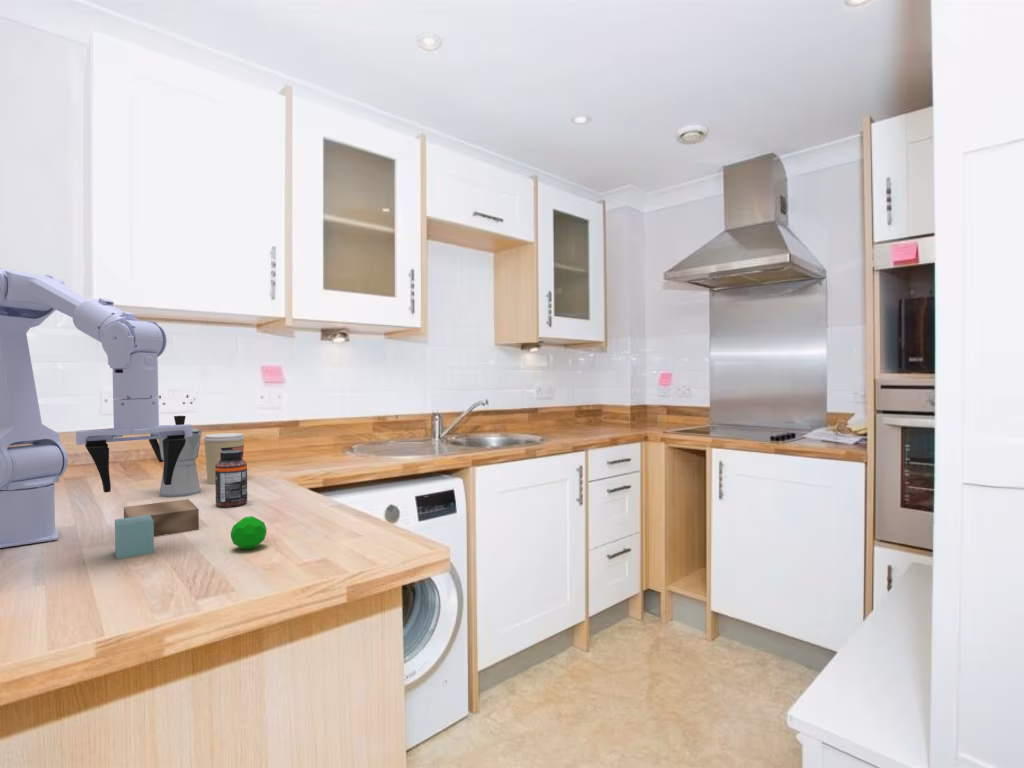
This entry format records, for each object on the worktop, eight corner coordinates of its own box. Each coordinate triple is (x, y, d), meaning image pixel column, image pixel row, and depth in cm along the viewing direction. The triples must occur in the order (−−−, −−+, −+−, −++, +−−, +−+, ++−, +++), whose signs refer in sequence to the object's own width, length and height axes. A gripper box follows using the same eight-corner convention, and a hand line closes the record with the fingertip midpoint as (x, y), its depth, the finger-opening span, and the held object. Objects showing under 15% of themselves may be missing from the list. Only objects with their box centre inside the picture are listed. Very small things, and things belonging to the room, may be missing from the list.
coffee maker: (217, 491, 128) (217, 414, 128) (186, 498, 120) (185, 417, 120) (167, 487, 132) (167, 413, 132) (133, 495, 124) (133, 416, 124)
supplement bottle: (217, 502, 116) (217, 449, 116) (248, 500, 118) (248, 448, 118) (213, 509, 111) (213, 453, 111) (245, 506, 113) (245, 452, 113)
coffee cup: (227, 485, 135) (227, 437, 135) (195, 483, 137) (194, 436, 137) (252, 478, 144) (252, 433, 144) (222, 477, 146) (221, 432, 146)
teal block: (117, 559, 80) (117, 525, 80) (115, 552, 83) (114, 519, 83) (153, 553, 83) (153, 520, 83) (150, 546, 86) (149, 514, 86)
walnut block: (129, 542, 89) (129, 518, 89) (123, 529, 97) (123, 507, 97) (198, 531, 96) (198, 508, 96) (188, 520, 103) (188, 499, 103)
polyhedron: (226, 548, 85) (226, 517, 85) (259, 541, 89) (259, 512, 89) (237, 555, 82) (237, 523, 82) (271, 548, 85) (271, 517, 85)
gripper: (77, 401, 76) (79, 498, 76) (195, 397, 85) (197, 484, 85) (74, 400, 81) (76, 491, 81) (186, 397, 90) (187, 478, 90)
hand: (138, 487), depth 83 cm, fingers open, 7 cm apart
